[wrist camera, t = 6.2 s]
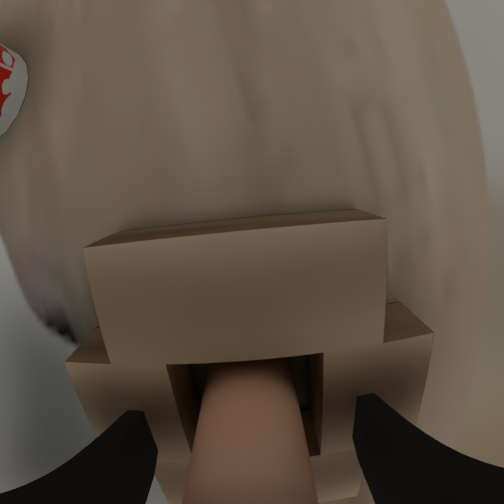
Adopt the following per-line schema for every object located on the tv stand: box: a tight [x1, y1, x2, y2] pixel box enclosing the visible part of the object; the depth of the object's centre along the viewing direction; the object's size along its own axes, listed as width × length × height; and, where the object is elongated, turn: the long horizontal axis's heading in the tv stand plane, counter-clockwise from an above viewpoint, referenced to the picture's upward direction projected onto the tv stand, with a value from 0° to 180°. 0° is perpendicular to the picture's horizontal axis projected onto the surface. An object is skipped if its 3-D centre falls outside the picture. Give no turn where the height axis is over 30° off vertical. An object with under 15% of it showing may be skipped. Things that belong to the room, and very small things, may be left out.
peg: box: [183, 357, 318, 504], centre depth 10 cm, size 4×4×7 cm
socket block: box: [65, 209, 434, 504], centre depth 12 cm, size 13×13×3 cm
